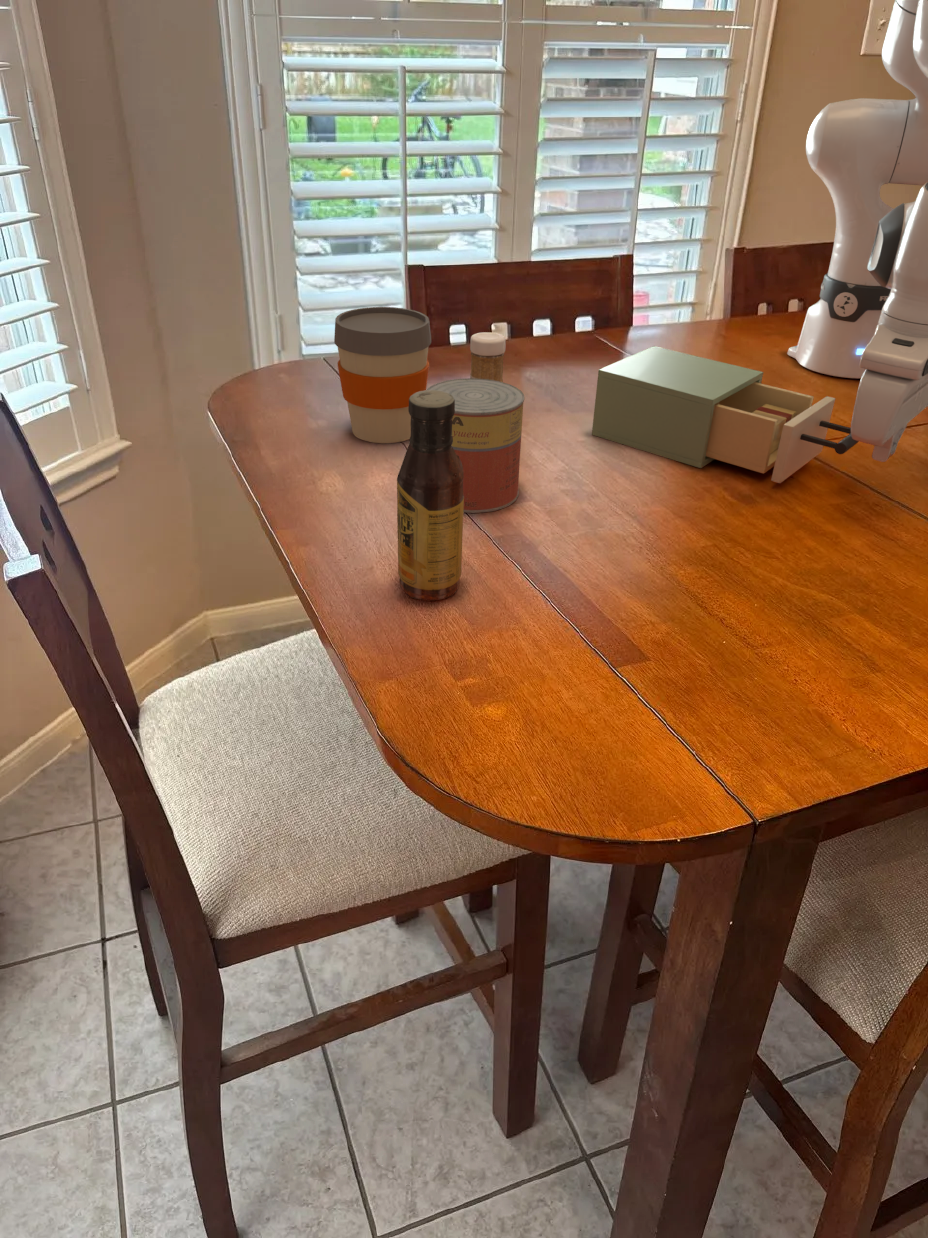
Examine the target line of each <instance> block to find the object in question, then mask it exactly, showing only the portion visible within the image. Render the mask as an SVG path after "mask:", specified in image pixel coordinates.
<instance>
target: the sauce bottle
mask: <svg viewBox="0 0 928 1238" xmlns="http://www.w3.org/2000/svg"><path fill="white" fill-rule="evenodd" d="M408 409H409V414H410V416H411V436H410V439H409V443H408V446H407V449H406V452H405V454H404V457H403V460H402V462H401V463H402V464H401V466H400V468H399V471H398V474H397V477H396V498H397V499H396V505H397V506H396V516H397V517H396V519H397V520H396V521H397V523H396V524H397V527H396V528H397V531H396V533H397V574H398V577H399V585H400V588H401V590H402V591H403V592H404V593H405V594H407V596H408V597H411V598H412V599H415V600H422V601H430V602H431V601H440V600H444V599H448V598H450V597H452V596H454V595H455V594H456V592H457V591H458V588H459V586H460V581H461V576H462V564H463V563H462V562H463V561H462V559H463V533H464V512H463V508H464V495H463V478H464V472H463V465H462V462H461V460H460V458H459V456H458V455H457V454H456V453H455V451H454V449H453V447H452V444H453V437H452V418H453V416H454V413H455V400H454V398H453V396H452V395H451V394H449V393H447V392H443V391H438V390H427V389H426V390H424V391H419V392H416V393H414V394H413V395H411V396H410V398H409V408H408Z"/></svg>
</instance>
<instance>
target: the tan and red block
mask: <svg viewBox="0 0 928 1238" xmlns="http://www.w3.org/2000/svg"><path fill="white" fill-rule="evenodd" d="M752 413H754V414H757V415H761V416H765V417H769V418H773V419H776V420H778V421H777V426H776V430H775V435H774V439H773V444H772V448H771V453H773V452H774V451H775V450H777V449H778V448H779V444H780V439H781V435H782V430H783V426H784V424H785V423H787V422H788V421H790V420H791V419H793V418H794V417H795V415H796V411H792V410H788V409H784V408H780V407H777V406H773V405H769V404H765V405H763V406H761V407H759V408H757V409H756V410H755V411H754V412H752ZM771 453H770V454H771Z"/></svg>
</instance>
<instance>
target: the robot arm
mask: <svg viewBox="0 0 928 1238" xmlns="http://www.w3.org/2000/svg"><path fill="white" fill-rule="evenodd" d="M881 49H882V50H881V60H882V64H883V67H884V68H885V70H886V72H887V73H888V75H889V76H890V77H891V79H893V80H894V81H895V82H896V83H898V84H899V85H901V86H903V87H904V88H906V89H907V90H909V91H910V92H911V93H912V94H913V95H914V97H915V98H913V99H890V98H889V99H888V98H886V99H885V98H866V97H859V98H851V99H846V100H841V101H835V102H829V103H828V104H827V105H825V106H824V107H823V108H822V109H821V110H820V111H819V112H818V114H817V115H816V116H815V117H814V119H813V121H812V123H811V124H810V126H809V129H808V132H807V135H806V141H805V154H806V159H807V162H808V164H809V166H810V168H811V170H812V171H813V172H814V173H815V175H817V177H818V178H819V179H820V180H821V181H822V183H823V184H824V186H825V187H826V189H827V190H828V193H829V194H830V196H831V199H832V202H833V206H834V212H835V232H834V239H833V240H834V241H833V246H832V252H831V258H830V262H829V267H828V271H827V272H826V273H825V274H824V275H823V280H822V282H821V284H820V292H819V298H820V299H819V300H818V301H817V302H816V303H814V304H812V305H811V306H808V309H807V311H806V313H805V318H804V320H803V321H804V322H803V325H802V328H801V332H800V335H799V338H798V342H797V345H794V346H791V347H789V348H788V350H787V352H786V354H787V355H788V356H789V357H792V358H793V359H795V360H796V361H797V363H798V364H799V365H800V366H802V367H804V368H806V369H808V370H810V371H812V372H816V373H819V374H822V375H823V374H824V375H827V376H833V377H838V378H847V379H860V381H859V384H858V388H857V392H856V395H855V396H856V397H855V401H854V406H853V411H852V417H851V422H850V428H851V436H852V439H854V440H856V441H859V443H863V444H868V445H871V446H874V447H873V451H872V454H871V458H872V460H874V461H878V462H881V463H885V462H887V461H888V460H889V459H890V458H891V457H892V456H894V455H895V453H896V451H897V447H898V444H899V442H900V440H901V438H902V436H903V434H904V432H905V431H906V428H907V427H908V424H909V423H910V422H911V421H912V420H913V419H914V418H916V417H917V416H918V415H919V414H920V413H922V411H924V410H925V409H926V408H927V407H928V0H894V2H893V6H892V9H891V13H890V18H889V22H888V25H887V29H886V33H885V37H884V41H883V45H882V47H881ZM888 184H891V185H892V184H894V185H908V186H921V188H920V189H919V191H918V193H917V196H916V199H915V200H914V201H911V202H907V203H904V202H903V203H901V204H899V205H897V206H895V207H894V208H893V207H892V206H891V205H888V204H887V203H886V202H884V200H882V197H881V188H882V187H883V186H884V185H888Z"/></svg>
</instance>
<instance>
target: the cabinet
mask: <svg viewBox="0 0 928 1238" xmlns="http://www.w3.org/2000/svg"><path fill="white" fill-rule="evenodd" d="M597 371H598V372H597V381H596V390H595V391H596V392H595V399H594V402H595V403H594V408H593V409H594V410H593V419H592V427H591V428H592V430H591V435H592V436H594V437H598V438H601V439H605V440H607V441H611V442H614V443H618V444H620V445H624V446H627V447H630V448H633V449H637V450H640V451H643V452H647V453H650V454H652V455H653V454H654V455H657V456H660V457H662V458H666V459H669V460H673V461H675V462H678V463H681V464H685V465H689V466H692V467H695V468H698V469H702V468H703V467H705V466H707V465H708V464H710V463H711V462H713V461H715V459H713V458H710V457H707V456H706V450H707V444H708V439H709V433H710V428H711V422H712V417H713V411H714V406H715V404H716V403H718V402H720V401H722V400H723V399H725V398H727V397H729V396H731V395H732V394H734V393H736V392H738V391H740V390H741V389H743V388H745V387H747V386H748V385H750V384H752V383H754V382H757V383H761V384H762V381H763V376H764V371H761V370H757V369H752V368H749V367H744V366H740V365H735V364H732V363H728V362H723V361H719V360H715V359H711V358H706V357H703V356H698V355H693V354H689V353H685V352H681V351H677V350H673V349H670V348H669V349H668V348H664V347H660V346H656V345H653V346H650V347H648V348H646V349H644V350H641V351H639V352H636V353H634V354H632V355H629V356H627V357H625V358H623V359H620V360H618V361H616V362H613V363H611V364H609V365H607V366H604V367H602V368H599V369H598V370H597Z"/></svg>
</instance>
